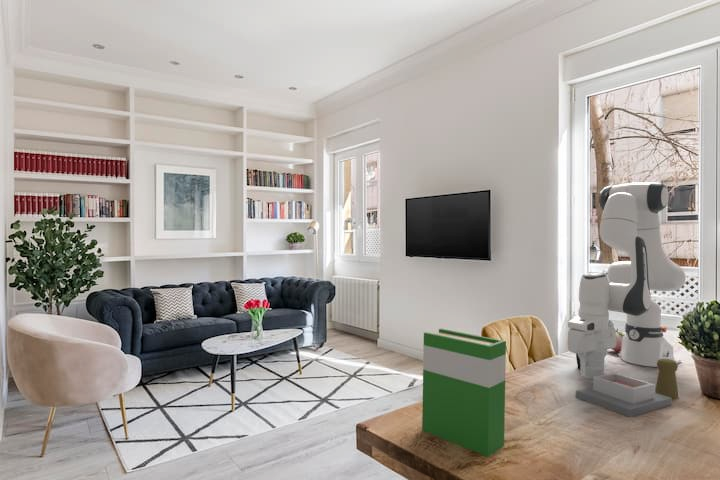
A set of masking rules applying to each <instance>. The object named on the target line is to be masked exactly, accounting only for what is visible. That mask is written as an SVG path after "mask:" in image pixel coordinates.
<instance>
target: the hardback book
mask: <svg viewBox="0 0 720 480" xmlns="http://www.w3.org/2000/svg"><path fill="white" fill-rule="evenodd" d="M422 349H423V353H422V354H423V355H422V356H423V358H422V362H423V364H422V410H421V411H422V412H421V413H422V416H421V418H422V421H421V422H422V423H421V424H422V425H421V426H422V427H421V431H422V432H425V433H428V434H430V435H432V436H435V437H437V438H440V439H442V440H445V441H446V442H447V441H448V442H450V443H452V444H455V445H458V446H460V447H462V448H465V449H468V450H470V451H473V452H476V453H478V454H479V455H483V456H486V457H490V456H492V454H494V453H495V452H497V451H498V450H500V449H501V448H503V447H504V446H505V419H506V418H505V417H506V415H505V412H506V411H505V410H506V405H505V404H506V369H507V367H506V363H507V362H506V361H507V360H506V359H507V354H506V353H507V341H506V340H503V339H499V338H498V339H497V338H491V337H487V336H481V335H476V334H470V333H466V332H459V331H454V330H450V329H444V328H438V332H436V333H431V332H423V348H422Z"/></svg>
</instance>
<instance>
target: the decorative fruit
mask: <svg viewBox="0 0 720 480" xmlns="http://www.w3.org/2000/svg"><path fill="white" fill-rule="evenodd" d="M615 331H616V346H615V348H612V349H611V350H612V351H614V352H615V353H621V347H622V339H623V336H625V335H626V333H624V332H623V331H619V329H618V328H616V329H615Z"/></svg>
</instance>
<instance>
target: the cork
mask: <svg viewBox="0 0 720 480" xmlns="http://www.w3.org/2000/svg"><path fill="white" fill-rule="evenodd" d="M678 367H679V366H678V364H677V363H676V362H675V361H673V360H670V359H659V360H658V362H657V367H656V368H658V373H657V379H656V385H655V388H654V393H658V394H661V395H664V396H667V397H671V398H672V400H677V399H678V400H679V390H678V383H677V373H676V372H677V370H678Z"/></svg>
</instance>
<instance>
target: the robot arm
mask: <svg viewBox="0 0 720 480" xmlns="http://www.w3.org/2000/svg"><path fill="white" fill-rule="evenodd" d="M669 196H670V195H669V190H668V188H667V186H666V185H665V184H664V183H662V182H655V181H651V182H631V183H623V184H617V185H615V184H611V185H608V186H604V188H603V189H601V191H600V192H599V196H598V203H599V207H600V208H601V209H600V210H603V211H602V213H601V214H602V215H601V218H600V223H599V224H600V225H599V237H600V238H601V241H602V242H603V243H604V244H606V245H607V246H608V247H610V248H612V249H615V250H617V251H620V252H622V253H625V254H627V256H628V257H629V259H630V260H622V261H615V262H612V263H611V264H610V266H609V267H608V270H607V272H606V273H607V274H606V273H603V272H594V271H593V272H586V273H584V274H582V275H581V278H580V281H579V289H578V301H579V309H578V315H575V317H574V318H572V319H570V320H569V321H568V322H567V327H568V328H569V329H568V332H567V349H568V351H569V353H572V354H575V355H576V354H578V357H579V359H580V365H581V366H588V361H587V360H586V358H585V356H586V353H588V352H594V351H596V342H601V341H602V342H604V343H605V347H604V360H605V358H606V356H607V354H608V350H612V348H615V346H616V331H615V330H616V327H614V326H615V325H614V323H613V322H612V321H611V319H609V318H610V313H609V311H610V312H617V313H621V314H622V313H624V314H626V323H625V327H624V332H625V334H626V335H625V336H623V339H622V347H621V351H620V352H617V353H618V354H617V356H618V357H620V359H621V360H622V361H624V362H626V363H629V364H632V365H638V366H645V367H653V368H654V367H656V368H658V367H657V362H658V360H659V359H670V360H673V361H675V362H676V363H677V365H678V364H680V363H681V361H682V360H681V358H678V357H675V356H674V347H673V345H672V344H671V343H670V342H668V340H667V339H665V337H664V333H667V330H668V329H667V327H665V326H661V317H662V316H661V314H662V313H661V312H662V309H661V307H660V305H659V304H658V303H657V302H656V301H655V300H652V297H651V291H653V292H673V291H674V292H675V291H679V290H680V289H682V288H683V286H684V285H685V282H686V274H685V273H686V272H685V271H684V269H683V268H682V267H681V266H680V265H679V264H678V263H676V262H674V261H672V260H671V259H670V257H669V256H668V255H667V253H666V252H665V250H664V249H663V245H662V239H661V238H662V237H661V229H660V228H661V227H660V226H661V225H660V223H661V222H660V216H659V213H660V212H661V211H663V210H664V209H666V207H667V205H668V202H669V199H670V198H669Z"/></svg>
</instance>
